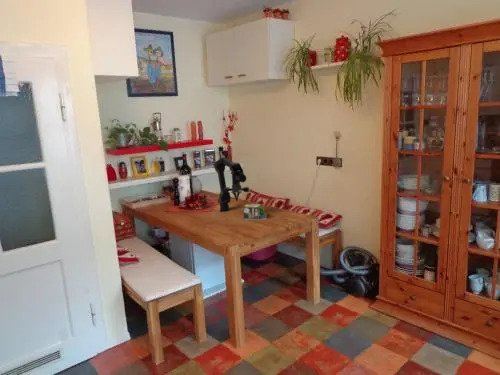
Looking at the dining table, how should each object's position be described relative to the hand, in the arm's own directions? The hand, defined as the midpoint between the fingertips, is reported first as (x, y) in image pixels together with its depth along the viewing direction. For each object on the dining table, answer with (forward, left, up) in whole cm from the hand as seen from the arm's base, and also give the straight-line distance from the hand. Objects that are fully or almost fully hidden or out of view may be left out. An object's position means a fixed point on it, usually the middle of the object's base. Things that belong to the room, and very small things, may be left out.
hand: (236, 200), depth 276 cm
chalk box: (+6, -4, -7) cm, 10 cm away
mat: (+14, -3, -12) cm, 18 cm away
